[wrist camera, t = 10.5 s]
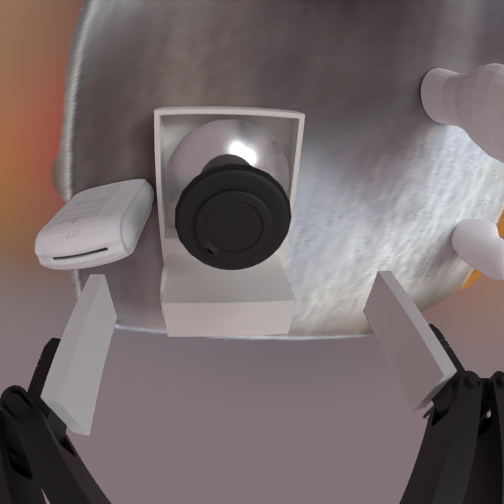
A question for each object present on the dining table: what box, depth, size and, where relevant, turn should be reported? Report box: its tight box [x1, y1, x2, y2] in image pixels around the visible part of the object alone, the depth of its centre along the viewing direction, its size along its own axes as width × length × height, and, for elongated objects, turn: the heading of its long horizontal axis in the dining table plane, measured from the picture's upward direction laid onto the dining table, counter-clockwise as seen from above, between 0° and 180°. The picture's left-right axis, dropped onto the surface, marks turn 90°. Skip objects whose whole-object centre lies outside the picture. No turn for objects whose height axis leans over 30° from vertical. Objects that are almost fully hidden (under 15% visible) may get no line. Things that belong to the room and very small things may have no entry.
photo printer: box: [35, 179, 154, 270], centre depth 26 cm, size 10×4×12 cm, turn 95°
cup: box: [421, 63, 504, 163], centre depth 21 cm, size 11×11×15 cm
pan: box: [165, 119, 289, 211], centre depth 29 cm, size 12×12×3 cm
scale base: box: [154, 106, 305, 337], centre depth 28 cm, size 21×14×11 cm
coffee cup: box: [175, 154, 292, 270], centre depth 23 cm, size 8×8×10 cm
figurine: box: [451, 219, 504, 280], centre depth 35 cm, size 7×8×12 cm
